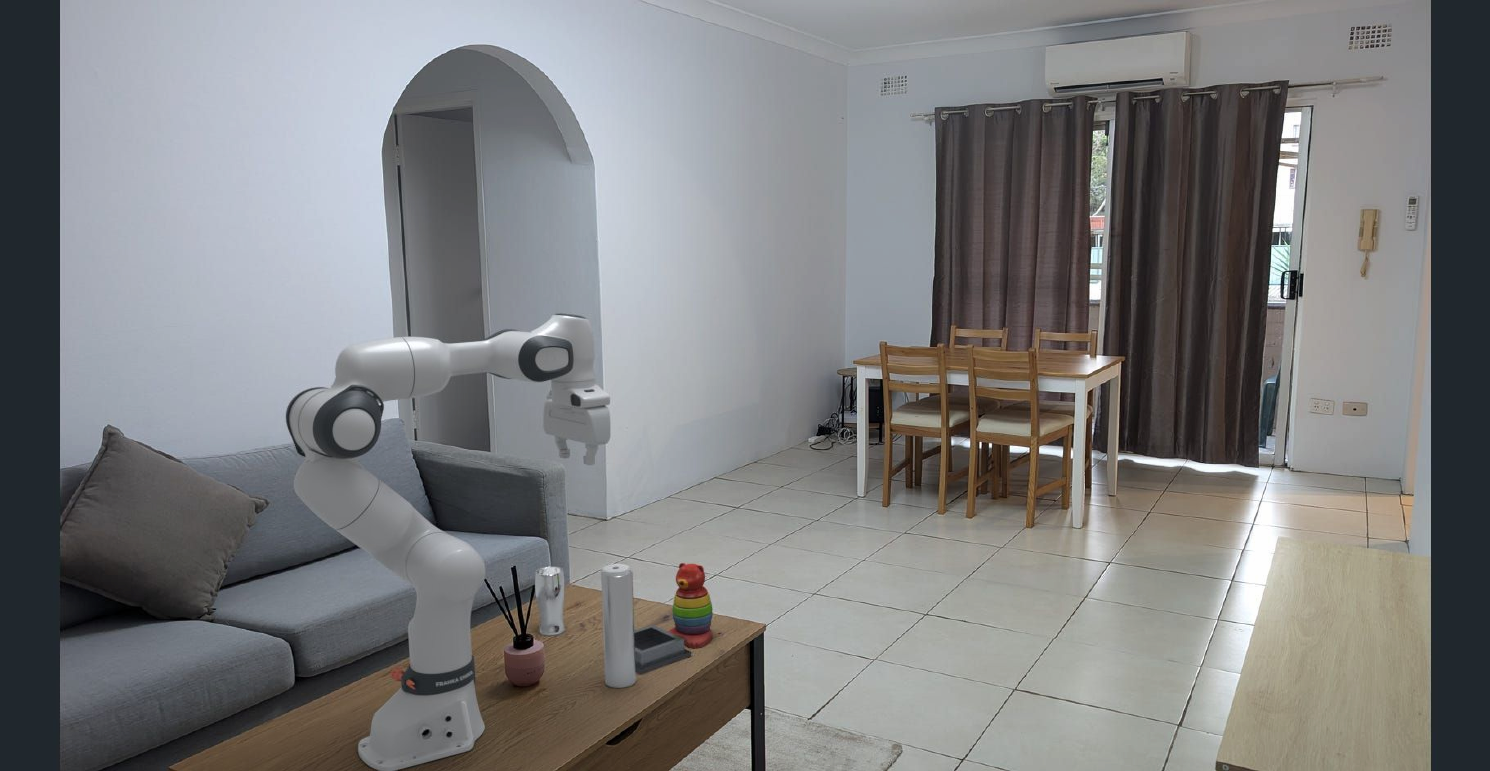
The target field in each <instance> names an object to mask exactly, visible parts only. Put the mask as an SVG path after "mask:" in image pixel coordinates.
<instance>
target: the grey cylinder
mask: <svg viewBox="0 0 1490 771" xmlns="http://www.w3.org/2000/svg"><path fill="white" fill-rule="evenodd" d="M633 576H634V574H633V571H632V569H631V568H630V566H629V565H627V564H623V563H612V564H608V565H605V566H603V567H602V571H601V572H600V579H601V604H602V605H601V606H602V610H601V611H602V629H603V632H602V634H603V635H602V636H603V656H604V658H603V659H604V661H603V662H604V681H605V682H604V684H605V685H606V686H607V687H609V688H612V689H621V688H622V689H624V688H628V687H631V686H632V685H633V686H634V684H635V683H636V682H637V673H636V662H635V632H634V631H635V609H634V608H635V606H634V578H633Z"/></svg>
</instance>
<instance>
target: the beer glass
mask: <svg viewBox="0 0 1490 771" xmlns="http://www.w3.org/2000/svg"><path fill="white" fill-rule="evenodd" d="M564 576H565V574H564V569H563V567H559V566H544V567H541V568H538V569H536V570H535V578H534V579H535V580H534V585H535V586H534V589H535V590H534V592H535V598H536V604H537V607H538V608H537V609H538V613H539V620H540V621H539V628H538V633H539V634H540V635H542V636H550V637H551V636H556V635H557V636H558V635H561V634H563V633H564V632H565V630H566V628H565V623H564V618H563V616H564V615H563V612H564V603H565V594H566V583H565V582H566V581H565V577H564Z"/></svg>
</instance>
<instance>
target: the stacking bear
mask: <svg viewBox="0 0 1490 771" xmlns="http://www.w3.org/2000/svg"><path fill="white" fill-rule="evenodd" d="M676 572H677V573H676V574H675V583H676V585H677V587H678V588H677V589H676V591H675V594H674V597H673V603H672V609H671V610H672V618H673V619H672V620H673V622H674V626H675V627H672V628H671V629H669V630H668V632H670V633H672V634H674V635H676V636H679V637H681V638H683V639H684V646H687V647H688V648H691V649H700V648H702V647H704V646H706V645H708V644H709V643H710V642H711V641H712V638H713V631H712V629H711V626H712V619H713V605H712V601H711V596H710V593H709V591H708V589H707V588H706V587H705V586H704V585H705V581H706V573H705V568H704V566H702V565H700V564H696V563H684V562H681V563H680V564H679V565H678V570H677V571H676Z"/></svg>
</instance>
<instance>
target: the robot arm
mask: <svg viewBox="0 0 1490 771" xmlns="http://www.w3.org/2000/svg"><path fill="white" fill-rule="evenodd" d="M593 334H594V333H593V328H592V325H591V323H590V321H589V319H588V318H587V317H585V316H582V315H579V314H578V315H577V314H569V313H562V312H561V313H555V314H552V315H551V317H550V319H548V320H547V321H546V322H545V323H543V324H542V325H540V326H539V327H537V328H536V329H533V330H531V331H522V330H516V329H512V328H510V329H509V328H506V329H501V330H499V331H496V332H495V333H493V334H491V335H490V336H488V337H486V338H484V339H481V340H475V341H473V340H472V341H463V342H452V343H446V342H442V341H441V340H439V339H437V338H432V337H424V336H397V337H388V338H387V337H385V338H378V339H373V340H367V341H363V342H359V343H355V344H352V345H349V346H347V347H345V348H344V349H343V350H341V352H340V353H339V355H338V356H337V359H336V362H335V368H334V370H335V371H334V372H335V373H334V375H335V378H334V381H333V383H332V384H331V385H330V388H329V387H325V386H317V387H316V386H315V387H309V388H307V389H305V390H303V391H301V392H299V393H298V394H296V395H295V396H294V397H292V399H291V401H290V402H289V403H288V406H287V407H286V411H285V423H286V427H287V430H288V433H289V435H290V437H291V439H292V442H293V445H294V448H295V450H296V452H297V454H298V455H300V456H301V457H304V458H305V459H304V460H303V463H301V465H300V466H299V468H298V469H297V471H296V474H295V476H294V479H293V489H294V492H295V494H296V496H297V497H298V498H299V499H300V500H301V501H302V502H303V504H305V506H306V507H307V508H308V509H309V510H311V512H312V513H314V514H315V515H316V516H317V517H318V518H319V519H320V520H322V522H324V523H325V524H327V525H328V526H329V527H331V528H332V529H334V530H335V531H336V532H337V533H339V534H341V536H343V537H344V538H346V539H348V540H349V541H350V542H352V544H354V545H356V546H357V547H358V548H360V549H361V550H363V551H364V552H366V553H367V554H368V555H369V556H371V557H372V558H374V559H375V561H377V562H378V563H380V564H381V565H383V567H385V568H387V569H388V570H389V571H391V573H393V574H394V575H395V576H397V577H399V578H400V579H402V580H403V581H405V582H406V583H408V584H410V585H411V586H413V587H414V588H415V589H414V590H415V593H416V604H415V609H414V615H413V617H412V618H411V619H410V621H409V623H408V626H407V635H408V648H409V649H408V650H409V664H408V667H407V668H406V670H405V671H404V670H402V669H401V668H400V667H396V668H393V669H392V670H391V672H390V676H391V678H392V679H394V680H395V681H396V682H400V684H401V686H400V687H399V689H398V690H397V691H396V692H395V693H394V694H393V695H392V696H391V697H390V698H389V699H388V700H387V701H386V702H385V703H384V704H383V705H381V707H380V708H379V709H377V711H376V712H375V713H374V714H373V716H372V717H373V718H372V720H371V725H370V734H369V735H368V736H366V737H364V738H362V739H360V740H359V741H358V746H357V753H358V756H359V757H360V759H361V760H362V761H363V763H365V764H366V765H368V766H369V767H370V768H372V769H374V770H377V771H398V770H402V769H407V768H410V767H413V766H418V765H421V764H425V763H428V762H432V761H436V760H440V759H443V758H447V757H450V756H455V755H458V754H463V753H466V752H469V751H471V750H472V749H473V748H474V745H475V742H476V740H478V739H479V738H480V737H481V735H482V734H484V731H485V727H486V726H485V722H484V720H483V718H482V714H481V712H480V708H479V703H478V700H477V694H476V688H475V687H476V686H475V684H476V680H477V679H476V675H477V674H476V673H477V672H476V664H475V663H476V662H475V657H474V655H472V652H473V651H472V635H471V631H472V630H471V617H472V609H473V604H474V599H475V594H477V593H478V592H479V590H480V589H481V588H482V586H483V584H484V581H485V578H486V566H485V565H486V564H485V561H484V560H483V558H482V557H481V555H480V554H479V553H478V551H477V550H476V549H474V547H473V546H472V545H471V544H469V543H468V542H466V541H464V540H462V539H460V538H458V537H455V536H453V535H451V534H449V533H447V532H446V531H444V530H442V529H440V528H438V527H437V526H436V525H434V524H433V523H432V522H430V521H429V520H428V519H427V518H425V517H424V516H423V515H422V514H421V513H420V512H419V511H418V510H417V509H416V508H415V507H414V506H413V505H412V504H411V502H409V501H408V500H406V499H405V498H404V497H403V496H401V495H400V494H399V493H398V492H396V491H395V490H394V489H393V488H391V487H390V486H388V485H387V484H386V483H385V482H383V481H382V480H381V479H380V478H378V477H377V476H376V475H374V474H372V473H371V472H370V471H369V470H367V469H366V468H364V466H363V465H362V464H361V463H360V461H359V460H358V458H357V457H361V456H363V455H365V454H367V453H368V452H369V451H371V450H372V449H373V448H374V447H375V445H376V444H377V442H378V440H379V438H380V435H381V431H382V430H381V429H382V417H383V413H384V409H385V404H384V402H390V401H396V400H397V401H399V400H409V399H417V398H423V397H426V396H429V395H433V394H436V393H440V392H442V391H443V390H444V389H445V387H447V386H448V383H449V381H450V379H451V378H452V377H456V376H464V375H471V374H483V373H487V374H490V375H493V376H495V377H497V378H501V379H505V380H506V379H507V380H517V381H522V382H523V381H524V382H529V383H537V384H538V383H544V382H546V381H547V382H548V381H550V385H551V386H550V387H551V390H550V391H549V392H548V394H547V395H546V400H545V402H544V404H543V419H542V420H543V424H542V425H543V426H542V428H543V431H544V432H545V434H546V435H550V436H554V442H555V444H556V447H557V450H558V457H559V458H561V459H569V458H570V456H571V449H570V448H568V444H567V440H569V441H574V442H579V443H582V444H585V446H584V448H585V449H586V452H585V455H583V456H582V457H583V464H584V465H586V466H592V465H593V466H594V465H595V463H596V455H597V451H598V449H599V446H602V445H606V444H609V442H610V439H611V414H610V409H609V408H608V407H607V406H608V405H610V404H611V396H610V394H609V393H608V392H606V391H605V390H603V388H601V387H600V386H599V385H598V384H596V383H597V382H596V375H595V371H594V361H595V356H596V355H595V342H594V335H593Z"/></svg>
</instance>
